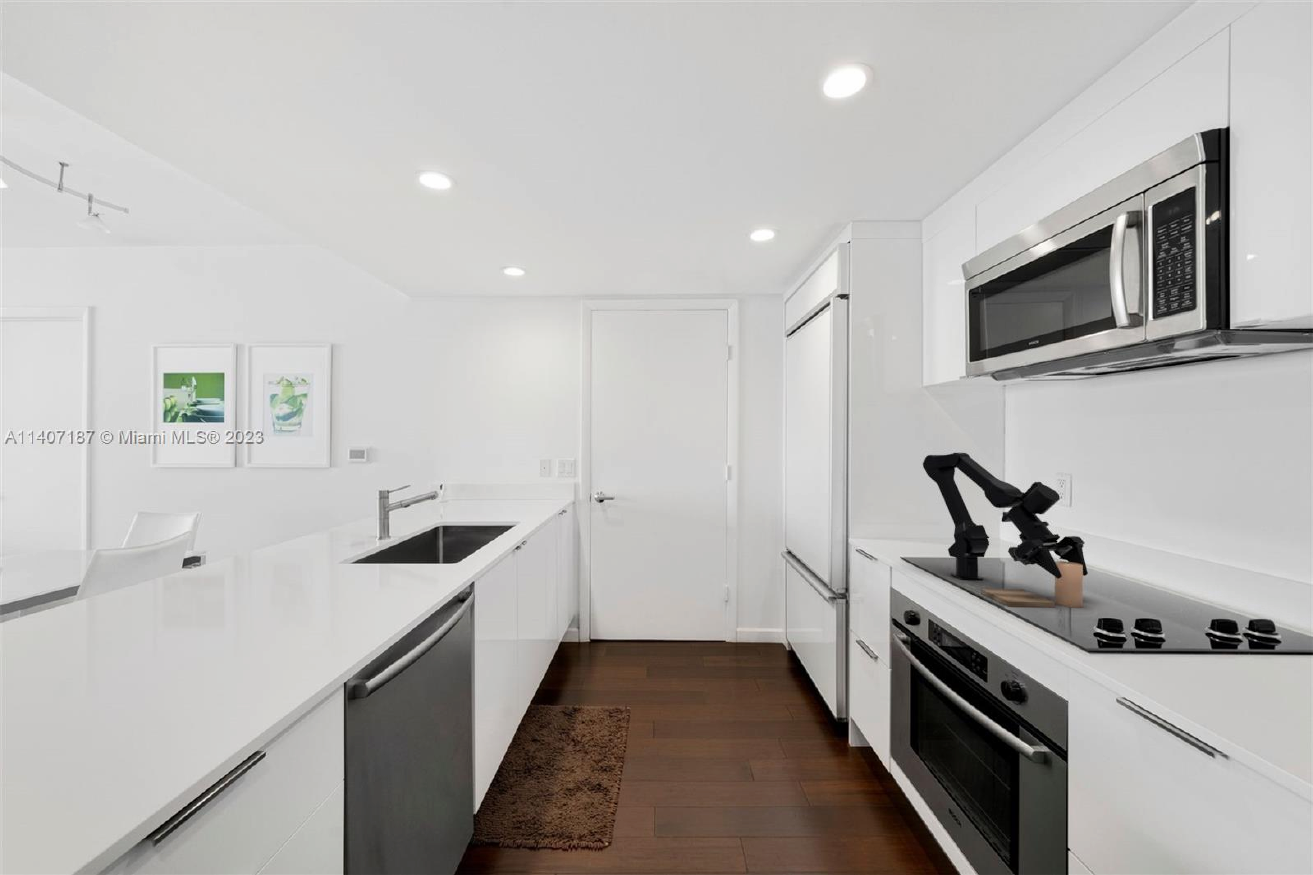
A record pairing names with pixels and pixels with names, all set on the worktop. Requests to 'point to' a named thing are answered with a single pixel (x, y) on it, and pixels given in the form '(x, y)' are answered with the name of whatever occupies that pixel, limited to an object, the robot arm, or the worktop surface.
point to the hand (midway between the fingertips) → (1073, 576)
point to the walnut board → (1017, 598)
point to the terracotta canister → (1069, 584)
